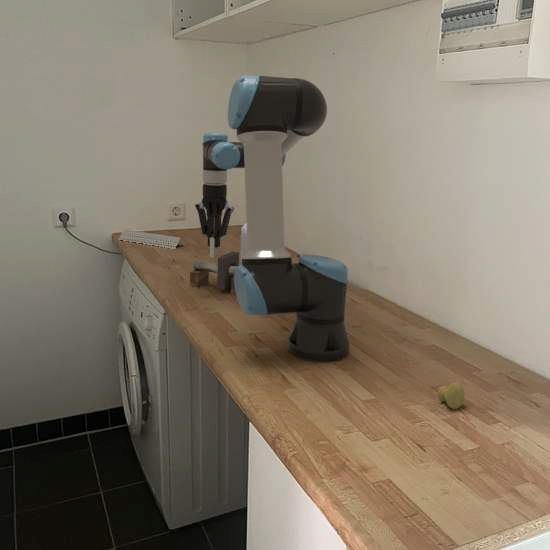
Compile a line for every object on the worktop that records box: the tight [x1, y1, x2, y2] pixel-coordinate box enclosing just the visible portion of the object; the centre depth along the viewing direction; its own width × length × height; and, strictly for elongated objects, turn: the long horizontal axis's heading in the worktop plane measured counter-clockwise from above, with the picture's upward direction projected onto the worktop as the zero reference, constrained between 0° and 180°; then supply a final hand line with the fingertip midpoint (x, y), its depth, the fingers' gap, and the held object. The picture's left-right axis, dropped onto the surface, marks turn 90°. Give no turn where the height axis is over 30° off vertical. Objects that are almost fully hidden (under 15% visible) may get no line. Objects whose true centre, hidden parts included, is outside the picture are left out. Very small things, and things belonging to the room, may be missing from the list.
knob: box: [437, 382, 465, 410], centre depth 117 cm, size 5×5×5 cm
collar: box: [217, 251, 240, 290], centre depth 185 cm, size 2×10×10 cm, turn 157°
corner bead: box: [117, 229, 186, 250], centre depth 244 cm, size 29×9×5 cm, turn 66°
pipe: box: [192, 260, 236, 276], centre depth 186 cm, size 18×3×3 cm, turn 67°
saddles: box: [189, 269, 236, 295], centre depth 187 cm, size 18×7×5 cm, turn 67°
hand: (213, 256), depth 186 cm, fingers closed
